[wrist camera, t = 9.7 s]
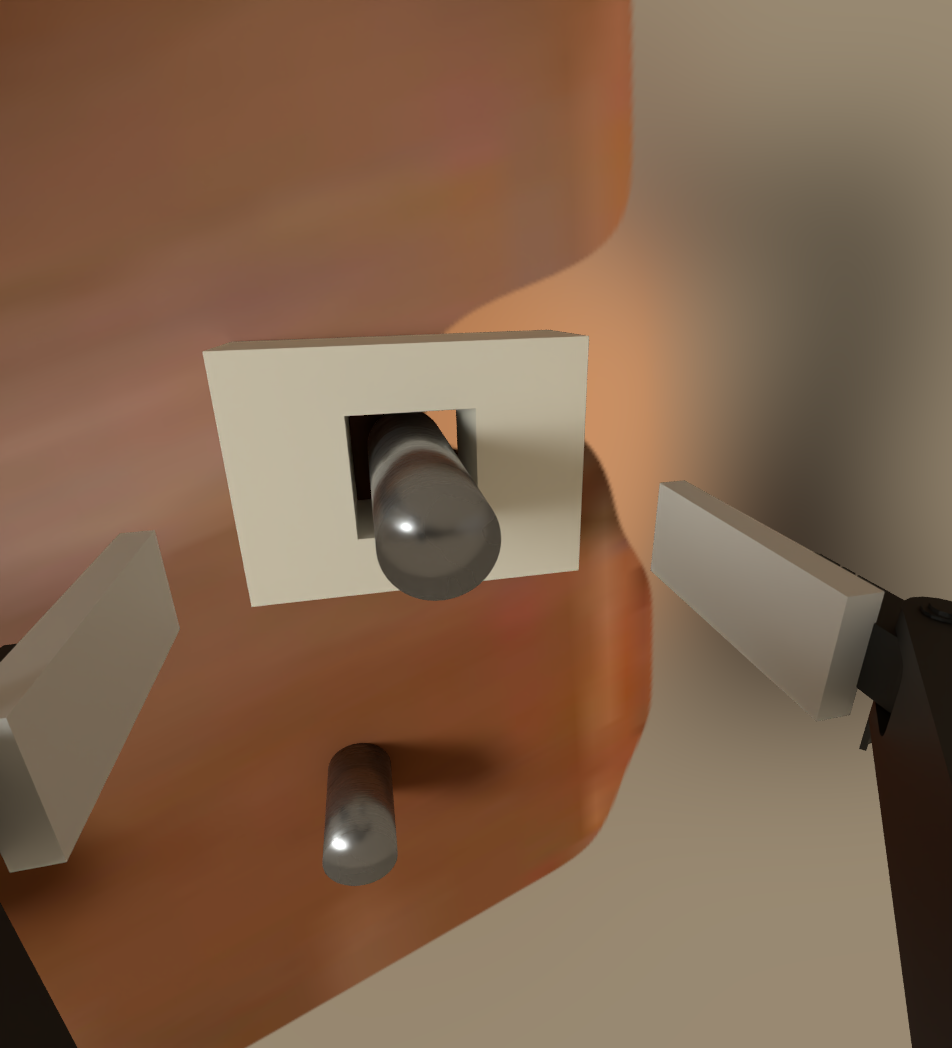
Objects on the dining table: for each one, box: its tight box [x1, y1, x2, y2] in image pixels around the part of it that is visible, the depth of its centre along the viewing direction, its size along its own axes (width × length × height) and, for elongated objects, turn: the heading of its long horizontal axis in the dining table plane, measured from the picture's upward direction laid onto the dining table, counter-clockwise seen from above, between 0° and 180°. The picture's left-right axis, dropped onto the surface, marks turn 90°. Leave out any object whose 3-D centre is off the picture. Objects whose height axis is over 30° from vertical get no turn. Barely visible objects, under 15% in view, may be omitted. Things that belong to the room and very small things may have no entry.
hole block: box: [203, 330, 589, 607], centre depth 25 cm, size 10×14×5 cm
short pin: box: [323, 743, 397, 886], centre depth 31 cm, size 4×4×6 cm
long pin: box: [367, 412, 501, 601], centre depth 22 cm, size 4×4×12 cm
